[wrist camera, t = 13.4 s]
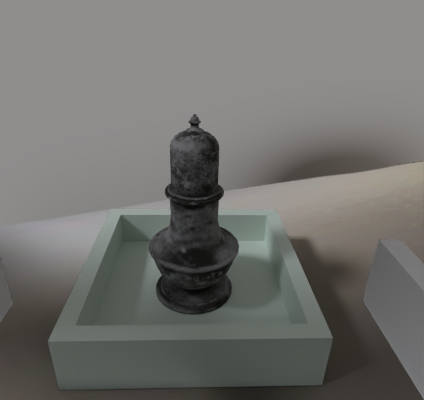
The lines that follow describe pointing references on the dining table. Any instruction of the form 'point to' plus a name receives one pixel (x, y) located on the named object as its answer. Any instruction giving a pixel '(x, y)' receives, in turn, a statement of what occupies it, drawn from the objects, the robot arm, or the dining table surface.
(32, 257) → the dining table surface
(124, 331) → the tray
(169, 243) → the salt shaker
